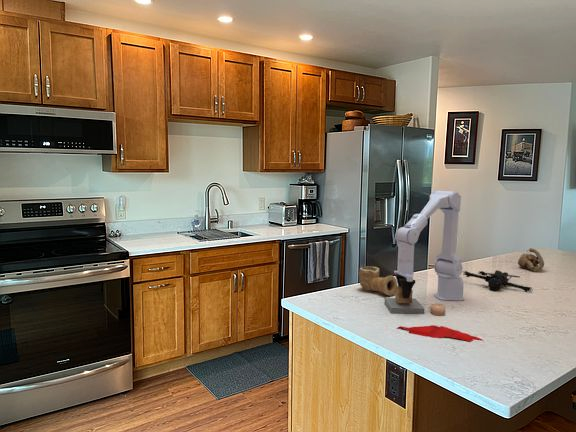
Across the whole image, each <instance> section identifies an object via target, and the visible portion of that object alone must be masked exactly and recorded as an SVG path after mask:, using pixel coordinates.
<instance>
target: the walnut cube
mask: <svg viewBox="0 0 576 432" xmlns="http://www.w3.org/2000/svg"><path fill="white" fill-rule="evenodd" d="M394 295H395V297H394V298H395V299H396V301H397V302H398V303H412V299H413V289H412V290H411V294H410V297H409V298H403V295H402V286H398V285H397V286H396V293H395V294H394Z"/></svg>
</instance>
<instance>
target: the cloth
mask: <svg viewBox="0 0 576 432" xmlns="http://www.w3.org/2000/svg"><path fill="white" fill-rule="evenodd" d="M399 329H401V330H403V329H404V330H405V331H407V332H408V334H412V335H416V336H422V337H426V338H427V337H429V338H432V339H433V338H434V339H442V338H450V339H451V338H452V339H456V340H460V341H465V342H469V343H472V342H474V340H475V341H484V339H482V338H480V337H478V336H474V335H471V334H469V333H468V332H467V333H466V332H462V331H459V330H457V329H452V328H449V327H448V326H447V327H446V326H443V325H440V326H439V325H433V324H431V325H422V326H421V325H420V326H411V327H408V326H407V327H406V326H402V325H400V326H398V327H397V328H396V330H399Z"/></svg>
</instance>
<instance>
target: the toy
mask: <svg viewBox="0 0 576 432" xmlns="http://www.w3.org/2000/svg"><path fill="white" fill-rule="evenodd" d="M462 275H463V276H465V278H470V277H471V278H472V277H473V278H477V279H480V280H481V279H482V280H484V281H485V282H486V283H488V284H487V286H488V289H489V290H490V291H494V292H497V291H499V290H500V289H501V287H508V286H509V287H513V288H517V289H520V290H523V291H524V292H525V293H528V292H529V293H532V291H533V290H534V289H533V288H532V287H530V286H524V285H520V284H516V283H514V282H513V283H512V282H510V281H509V280H510V279H511V278H512V277H513V278H520V277H521V276H518V275H512V274H511V275H510V274H509V273H508V272H502V270H497V269H496V270H495V271H494V273H491V272H490V273H489V272H485V271H483V270H481V271H480V270H479V271H478V272H477V273H476V274H475V273H474V272H473V273H472V272H469V271H467V270H464V271H463V274H462ZM508 277H509V278H508Z"/></svg>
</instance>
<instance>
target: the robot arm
mask: <svg viewBox="0 0 576 432" xmlns="http://www.w3.org/2000/svg"><path fill="white" fill-rule="evenodd" d="M461 201H462V196H461V195H460V193H459V192H458V191H457V190H454V191H453V190H438V189H436V190H433V191H432V193H431V194H429V201H428V202H427V204H426V205H425V206H424V207H423V209H422V210H421V211H420V213H415V214H413V215H412V217H411V218H410V220H408V222H406V224H405V225H404V226H401V227H400V228H398V229H397V231H396V232H395V234H394V238H395V240H396V246H397V265H396V266H397V269H396V270H393V273H394V277H395V279H396V281H397V286H402V295H403V298H409V297H410V294H411V290H413V287H414V285H415V284H416V282H417V281H416V280H415V279H414V274H415V273H414V265H415V264H414V261H415V260H414V259H415V245H416V243H417V242H418V240H419V236H421V235H420V234H421V232H422V231H423V230H424V228H425V227H426V226H427V225H428V220H429V218H431V216H432V215H433V214H434V213H436V212H437V211H438V210H441V213H443V214H444V215H443V216H444V217H443V218H444V219H443V228H442V229H443V230H442V242H441V243H442V244H441V252H440V253H439V254H437V255H436V257H435V261H434V264H433V269H434V272H435V273H436V275H437V290H436V291H437V292H434V293H433V294H434V296H435V297H436V298H438V300H440V301H464V288H465V287H464V286H465V285H464V279H463V277H462V276H461V275H462V273H463V268H464V267H463V265H462V264H463V263H462V259H463V258H461V257H460V256H459V255H458V253H457V252H456V251H457V241H458V240H457V239H458V227H459V213H460V210H461Z"/></svg>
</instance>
